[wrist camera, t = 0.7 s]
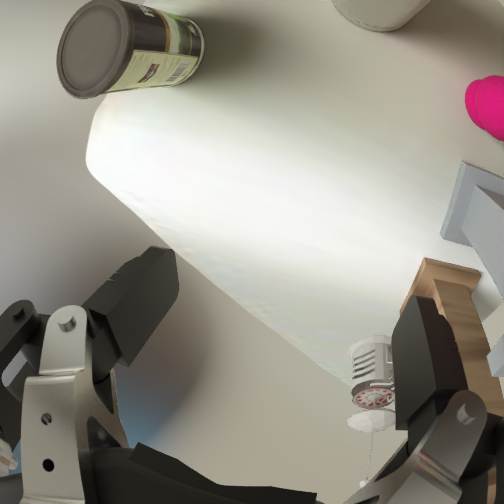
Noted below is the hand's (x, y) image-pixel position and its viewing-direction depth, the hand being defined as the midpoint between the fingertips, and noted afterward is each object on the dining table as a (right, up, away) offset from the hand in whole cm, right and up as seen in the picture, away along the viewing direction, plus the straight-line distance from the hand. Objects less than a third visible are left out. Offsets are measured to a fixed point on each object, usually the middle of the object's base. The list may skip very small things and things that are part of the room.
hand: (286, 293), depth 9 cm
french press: (+21, -16, +35) cm, 44 cm away
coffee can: (-12, +27, +18) cm, 34 cm away
